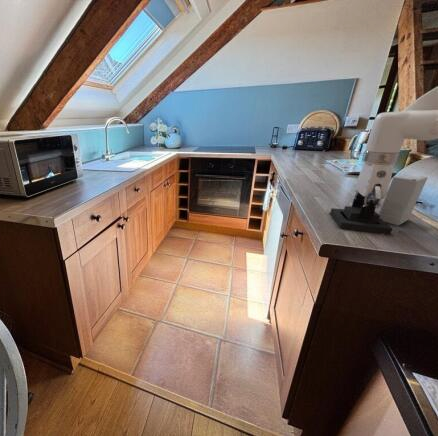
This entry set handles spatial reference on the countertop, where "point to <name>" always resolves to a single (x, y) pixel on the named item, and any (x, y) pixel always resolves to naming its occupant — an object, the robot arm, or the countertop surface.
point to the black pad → (354, 212)
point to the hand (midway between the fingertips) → (360, 213)
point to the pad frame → (359, 223)
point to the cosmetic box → (401, 198)
